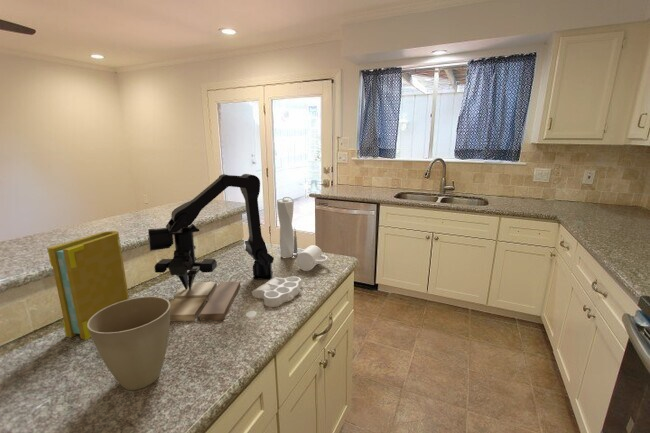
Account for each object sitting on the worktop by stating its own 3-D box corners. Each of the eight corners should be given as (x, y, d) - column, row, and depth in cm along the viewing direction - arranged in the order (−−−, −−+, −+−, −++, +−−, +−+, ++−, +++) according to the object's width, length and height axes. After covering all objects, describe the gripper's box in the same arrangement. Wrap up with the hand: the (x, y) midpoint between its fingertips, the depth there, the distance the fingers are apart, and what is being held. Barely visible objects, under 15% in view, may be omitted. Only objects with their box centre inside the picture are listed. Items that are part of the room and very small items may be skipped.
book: (86, 339, 83) (69, 249, 78) (65, 336, 85) (47, 248, 79) (136, 307, 99) (124, 231, 94) (118, 305, 101) (105, 230, 95)
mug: (296, 269, 129) (295, 251, 127) (306, 261, 138) (305, 244, 136) (323, 273, 125) (323, 254, 123) (331, 265, 134) (331, 247, 132)
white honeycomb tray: (276, 280, 120) (310, 288, 114) (246, 301, 104) (283, 311, 98) (276, 272, 119) (310, 279, 113) (245, 292, 103) (283, 301, 97)
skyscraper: (295, 259, 140) (294, 197, 134) (277, 259, 141) (275, 197, 134) (297, 253, 149) (296, 194, 142) (280, 252, 149) (278, 194, 143)
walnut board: (240, 286, 114) (240, 281, 113) (224, 319, 92) (223, 313, 92) (219, 287, 114) (218, 281, 113) (197, 320, 92) (197, 314, 92)
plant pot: (188, 354, 77) (181, 295, 73) (159, 403, 63) (148, 332, 59) (126, 356, 77) (116, 296, 73) (82, 406, 62) (67, 334, 58)
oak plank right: (216, 287, 114) (216, 281, 113) (208, 300, 104) (207, 294, 103) (185, 288, 113) (185, 282, 113) (174, 301, 103) (173, 296, 103)
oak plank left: (206, 303, 102) (205, 297, 101) (195, 320, 92) (194, 314, 92) (171, 304, 101) (170, 298, 101) (156, 321, 92) (155, 315, 91)
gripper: (143, 253, 96) (148, 300, 100) (205, 253, 97) (208, 300, 100) (160, 242, 107) (164, 285, 110) (215, 242, 108) (218, 285, 111)
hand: (188, 288), depth 108 cm, fingers closed
